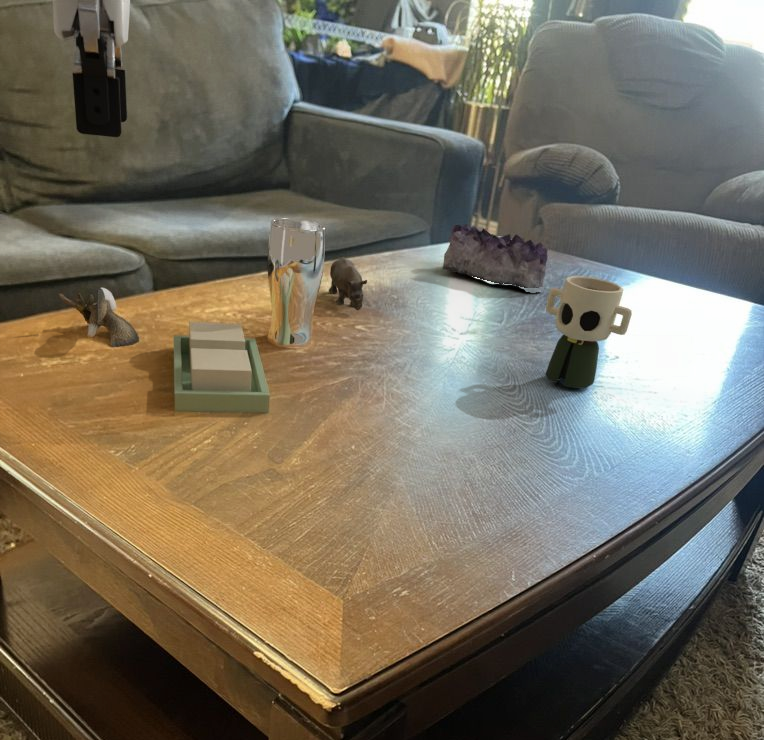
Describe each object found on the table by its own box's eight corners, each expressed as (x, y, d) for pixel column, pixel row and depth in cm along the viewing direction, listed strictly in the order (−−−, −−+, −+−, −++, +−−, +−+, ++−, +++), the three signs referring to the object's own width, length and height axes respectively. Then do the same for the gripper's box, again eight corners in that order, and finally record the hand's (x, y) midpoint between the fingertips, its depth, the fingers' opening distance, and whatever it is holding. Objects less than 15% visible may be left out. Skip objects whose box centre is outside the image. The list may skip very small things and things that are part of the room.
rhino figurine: (344, 318, 113) (348, 277, 110) (324, 290, 124) (327, 252, 121) (371, 319, 114) (376, 278, 111) (349, 291, 125) (352, 253, 122)
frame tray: (269, 416, 82) (270, 395, 81) (174, 414, 79) (174, 392, 78) (254, 356, 96) (255, 338, 95) (173, 354, 93) (173, 334, 92)
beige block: (190, 373, 88) (190, 339, 86) (189, 353, 93) (189, 321, 91) (244, 374, 90) (245, 341, 87) (240, 355, 94) (241, 323, 92)
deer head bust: (46, 325, 93) (86, 334, 88) (67, 269, 93) (108, 275, 88) (100, 350, 99) (140, 359, 94) (119, 298, 99) (161, 304, 94)
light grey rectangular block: (192, 405, 81) (191, 368, 79) (190, 382, 86) (190, 347, 84) (250, 406, 82) (251, 370, 80) (245, 384, 87) (246, 350, 85)
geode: (552, 286, 145) (565, 233, 139) (531, 307, 137) (544, 251, 131) (454, 258, 152) (462, 205, 145) (428, 276, 143) (435, 221, 137)
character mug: (519, 376, 101) (542, 276, 95) (541, 364, 106) (565, 268, 100) (597, 403, 96) (627, 300, 90) (617, 389, 102) (646, 290, 95)
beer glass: (294, 330, 106) (302, 215, 98) (328, 347, 102) (338, 228, 94) (253, 338, 101) (257, 218, 94) (286, 355, 97) (293, 232, 90)
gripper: (47, -134, 61) (66, 110, 69) (10, -178, 46) (39, 136, 55) (147, -115, 63) (153, 120, 71) (141, -152, 48) (149, 147, 57)
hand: (103, 127), depth 63 cm, fingers open, 9 cm apart
